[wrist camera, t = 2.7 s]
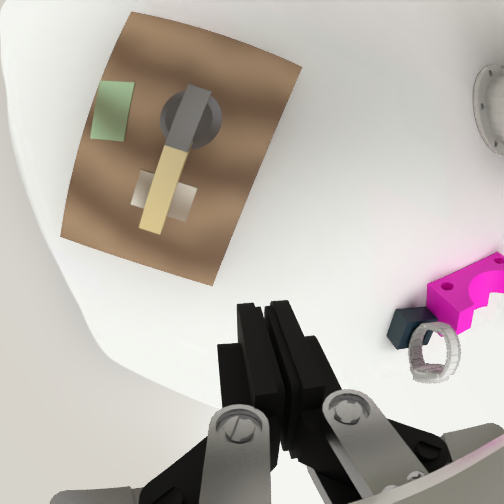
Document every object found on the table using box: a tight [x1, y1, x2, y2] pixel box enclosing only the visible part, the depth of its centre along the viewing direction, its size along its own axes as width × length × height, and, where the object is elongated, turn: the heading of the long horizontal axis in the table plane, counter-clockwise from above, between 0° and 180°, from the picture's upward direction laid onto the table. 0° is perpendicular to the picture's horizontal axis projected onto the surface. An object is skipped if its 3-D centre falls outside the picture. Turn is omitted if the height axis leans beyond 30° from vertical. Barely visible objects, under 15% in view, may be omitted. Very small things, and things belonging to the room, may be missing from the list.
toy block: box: [426, 252, 504, 337], centre depth 35 cm, size 15×6×8 cm, turn 105°
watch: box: [387, 307, 461, 383], centre depth 34 cm, size 6×8×11 cm
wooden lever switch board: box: [60, 12, 302, 286], centre depth 26 cm, size 22×16×2 cm
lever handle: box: [139, 84, 213, 235], centre depth 23 cm, size 12×4×4 cm, turn 158°
